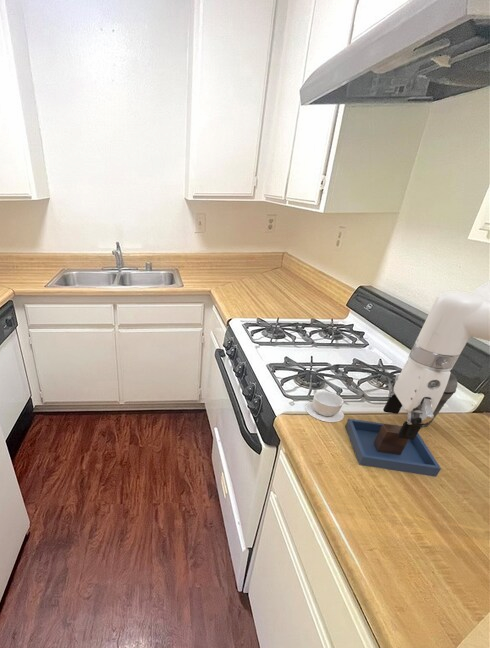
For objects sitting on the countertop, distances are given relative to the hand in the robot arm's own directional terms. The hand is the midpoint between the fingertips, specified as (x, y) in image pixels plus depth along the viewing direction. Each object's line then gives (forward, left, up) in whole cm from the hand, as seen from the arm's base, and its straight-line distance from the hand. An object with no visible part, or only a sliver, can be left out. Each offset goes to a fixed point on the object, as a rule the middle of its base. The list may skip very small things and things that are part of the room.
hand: (397, 424), depth 78 cm
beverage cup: (-12, -14, -8) cm, 20 cm away
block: (0, 0, -7) cm, 7 cm away
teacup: (+12, -13, -8) cm, 19 cm away
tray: (0, 0, -8) cm, 8 cm away
